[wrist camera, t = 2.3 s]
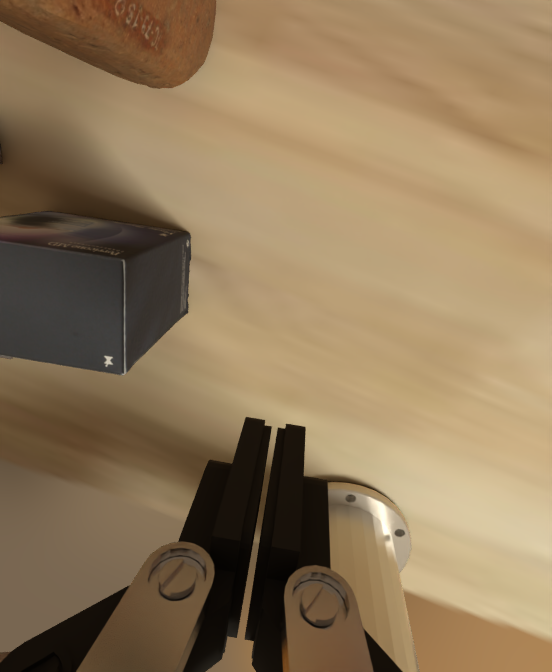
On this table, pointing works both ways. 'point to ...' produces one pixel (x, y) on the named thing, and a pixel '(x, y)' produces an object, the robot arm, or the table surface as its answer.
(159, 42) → the block
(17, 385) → the table surface
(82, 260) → the small box
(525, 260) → the table surface
